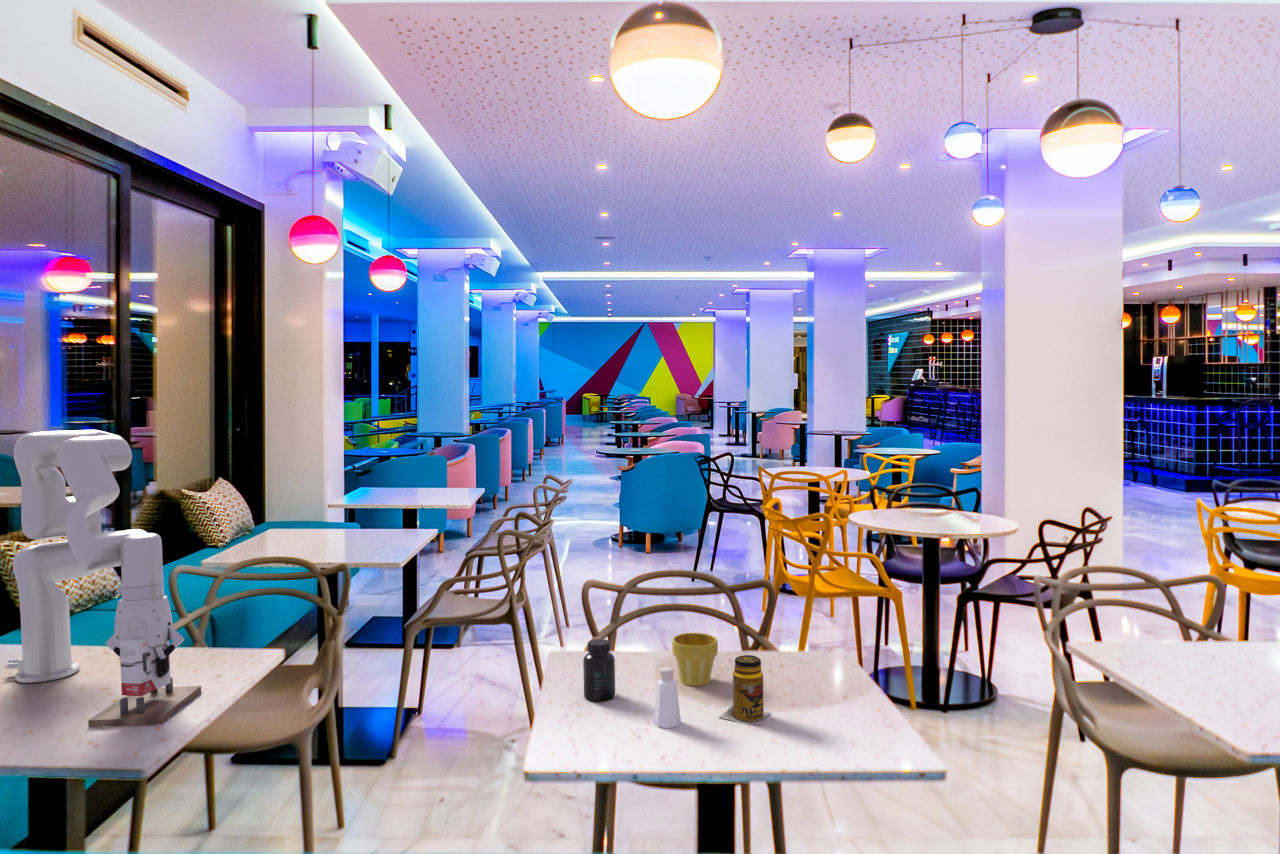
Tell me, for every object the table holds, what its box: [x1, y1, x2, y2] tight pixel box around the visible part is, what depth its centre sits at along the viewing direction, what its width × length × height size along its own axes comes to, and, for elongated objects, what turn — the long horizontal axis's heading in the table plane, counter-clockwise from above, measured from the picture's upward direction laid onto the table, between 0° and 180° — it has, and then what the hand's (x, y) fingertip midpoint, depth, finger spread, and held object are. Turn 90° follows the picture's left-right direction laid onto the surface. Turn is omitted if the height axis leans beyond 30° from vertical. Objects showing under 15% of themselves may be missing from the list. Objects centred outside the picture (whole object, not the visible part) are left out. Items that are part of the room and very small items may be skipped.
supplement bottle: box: [582, 638, 616, 703], centre depth 178 cm, size 7×7×12 cm
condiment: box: [718, 654, 772, 726], centre depth 167 cm, size 7×8×12 cm
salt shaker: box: [653, 666, 682, 729], centre depth 163 cm, size 5×5×11 cm
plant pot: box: [671, 632, 719, 687], centre depth 187 cm, size 10×10×10 cm
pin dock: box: [87, 676, 202, 728], centre depth 175 cm, size 14×18×4 cm
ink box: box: [119, 639, 171, 696], centre depth 175 cm, size 9×5×12 cm, turn 169°
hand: (146, 675), depth 175 cm, fingers closed on ink box, 5 cm apart
